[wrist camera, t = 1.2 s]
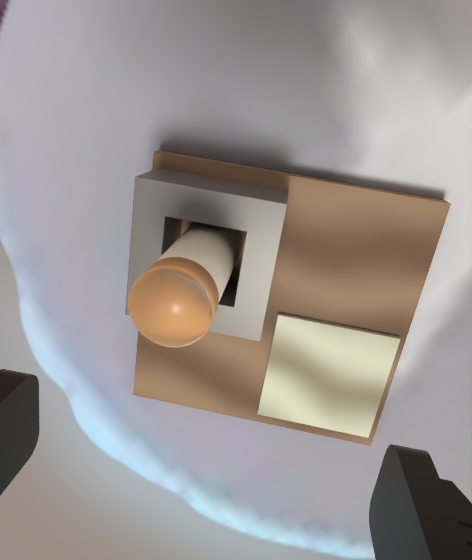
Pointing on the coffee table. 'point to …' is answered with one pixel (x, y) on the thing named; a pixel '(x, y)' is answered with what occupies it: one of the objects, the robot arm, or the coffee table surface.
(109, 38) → the coffee table surface
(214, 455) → the coffee table surface
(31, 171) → the coffee table surface
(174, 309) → the plug
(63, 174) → the coffee table surface
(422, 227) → the base board
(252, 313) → the grey square frame
